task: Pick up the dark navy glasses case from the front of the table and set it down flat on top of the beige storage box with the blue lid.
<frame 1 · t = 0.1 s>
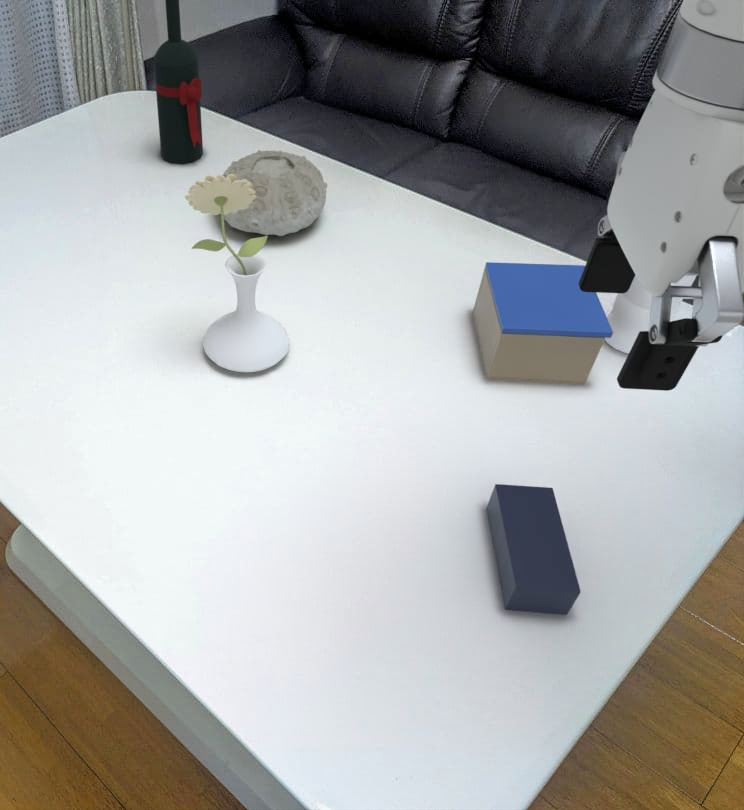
hand: (621, 334, 48), 33 cm above the table, tool pointing down, fingers open, 9 cm apart
case: (523, 560, 73), on the table
wine bottle: (185, 159, 138), on the table
flower in vase: (240, 351, 98), on the table
container: (524, 348, 96), on the table
water bottle: (628, 341, 96), on the table
container lid: (545, 297, 90), point 8 cm above the table, hinge at 0.0°
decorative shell: (269, 221, 121), on the table
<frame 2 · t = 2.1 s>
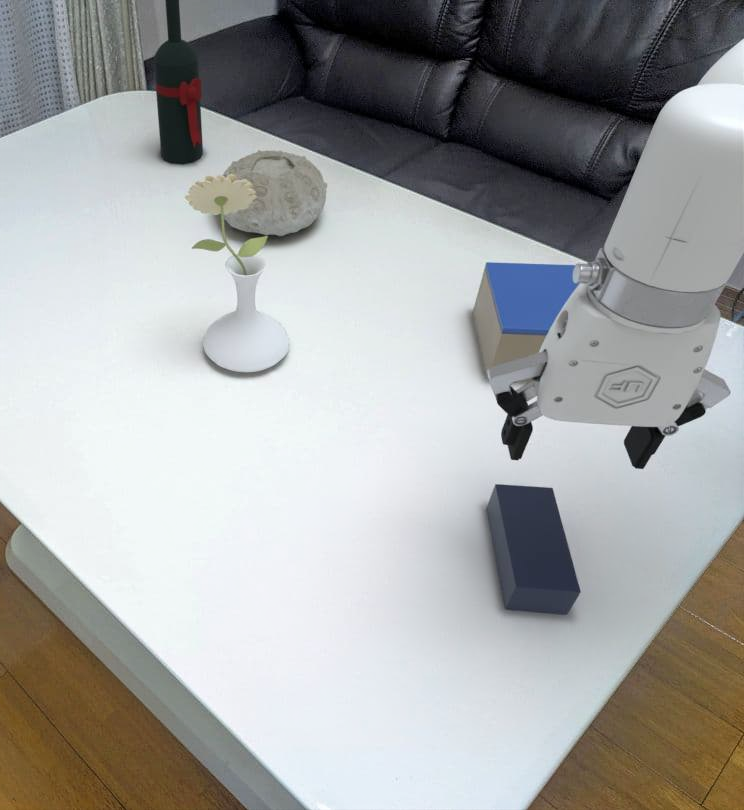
hand: (571, 451, 61), 17 cm above the table, tool pointing down, fingers open, 9 cm apart
nothing on the table moved.
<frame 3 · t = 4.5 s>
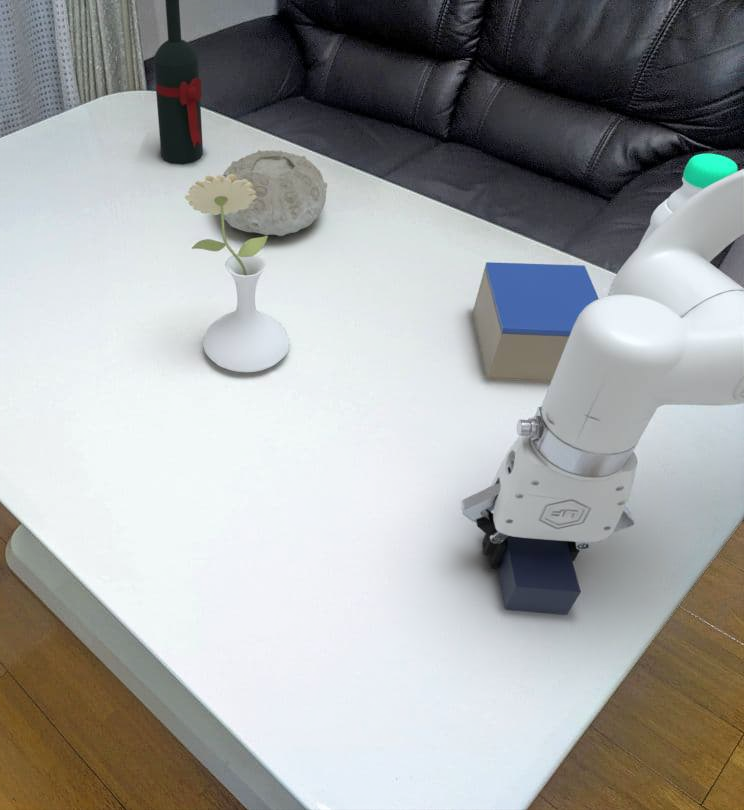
hand: (524, 557, 73), 1 cm above the table, tool pointing down, fingers closed on case, 5 cm apart
case: (523, 560, 73), on the table, touching gripper
everything else where it was.
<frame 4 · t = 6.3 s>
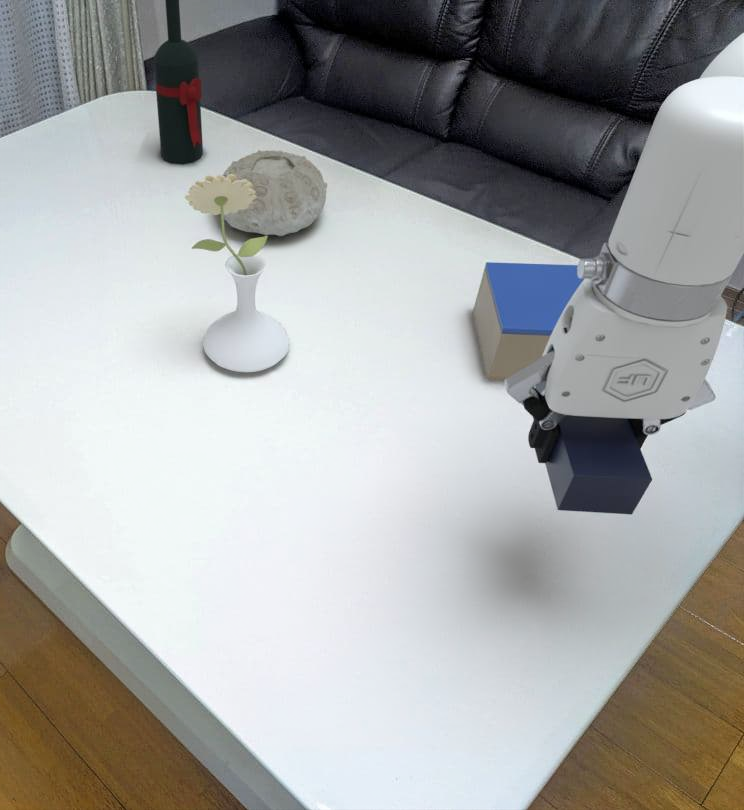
hand: (578, 451, 62), 16 cm above the table, tool pointing down, fingers closed on case, 5 cm apart
case: (576, 455, 62), point 16 cm above the table, touching gripper
everything else where it was.
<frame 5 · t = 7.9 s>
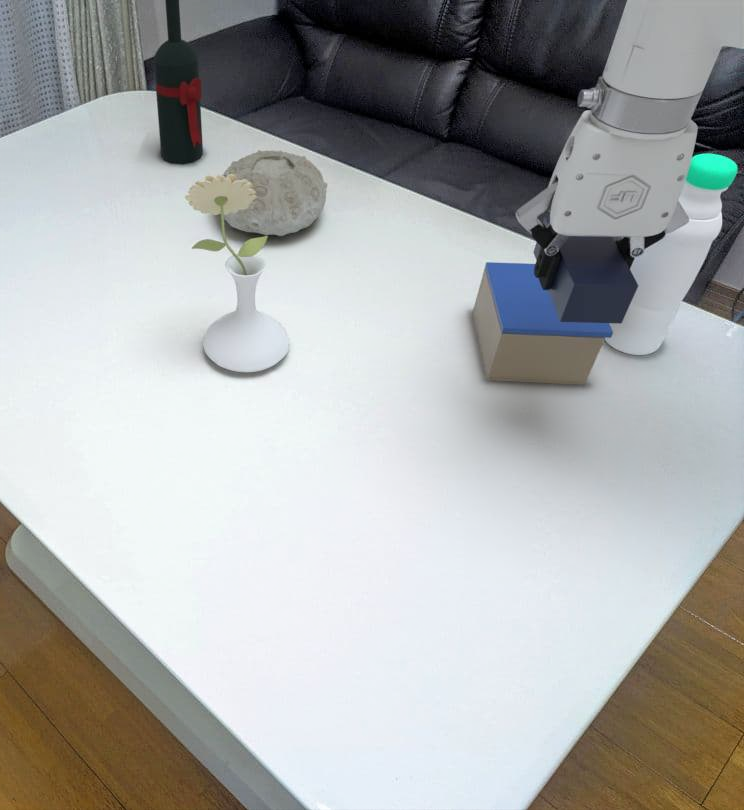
hand: (576, 281, 74), 19 cm above the table, tool pointing down, fingers closed on case, 5 cm apart
case: (574, 285, 74), point 19 cm above the table, touching gripper
everything else where it was.
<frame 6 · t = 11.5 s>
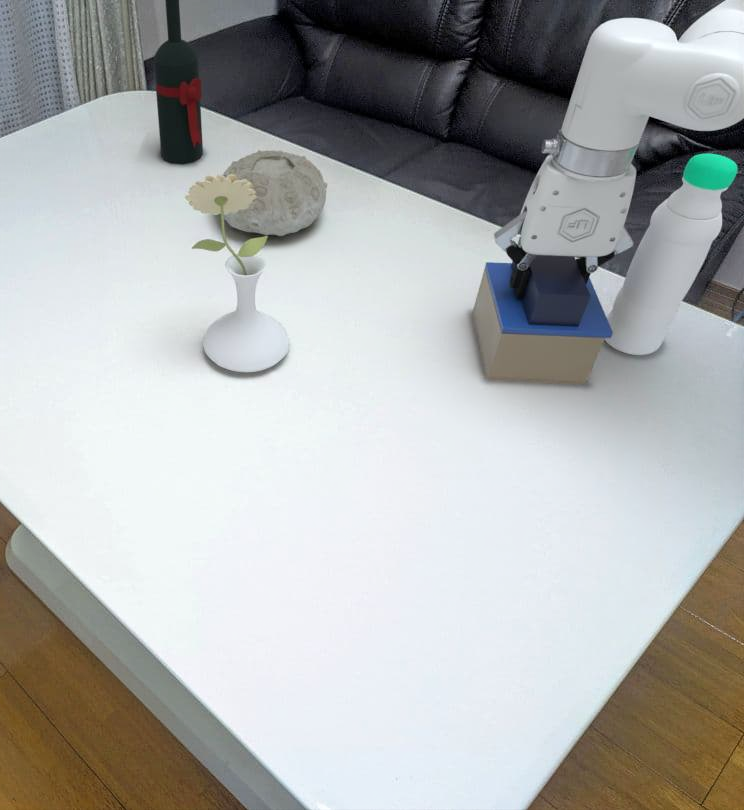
hand: (544, 291, 89), 9 cm above the table, tool pointing down, fingers closed on case, 5 cm apart
case: (542, 295, 90), point 9 cm above the table, touching container lid, gripper
container lid: (545, 297, 90), point 8 cm above the table, hinge at -0.3°, touching case, container
everything else where it was.
when the fingers open (9 cm above the table, at t = 11.8 s): case stays where it is, resting on container lid.
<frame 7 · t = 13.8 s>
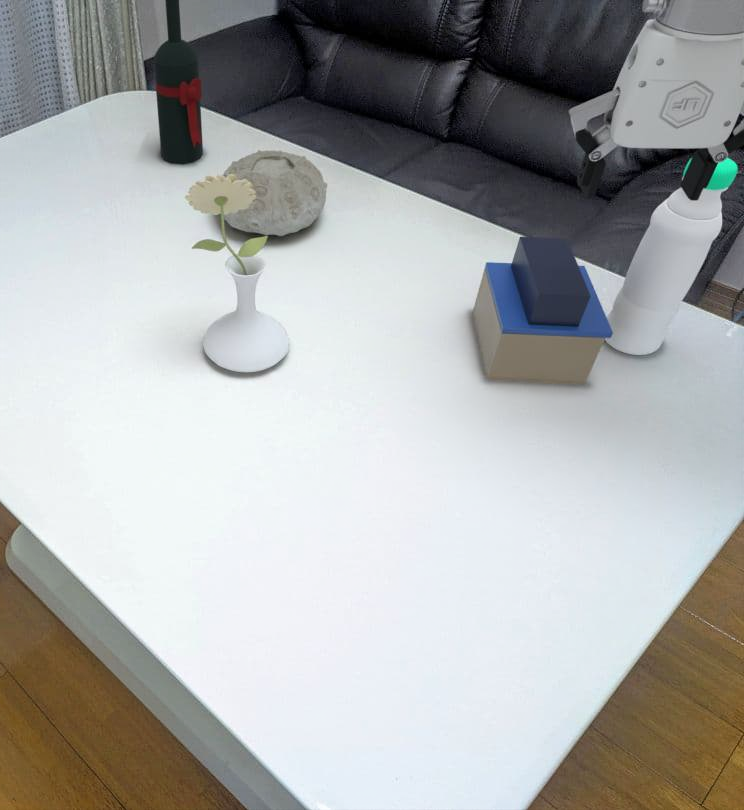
hand: (636, 193, 74), 25 cm above the table, tool pointing down, fingers open, 9 cm apart
case: (542, 295, 90), point 9 cm above the table, touching container lid
everything else where it was.
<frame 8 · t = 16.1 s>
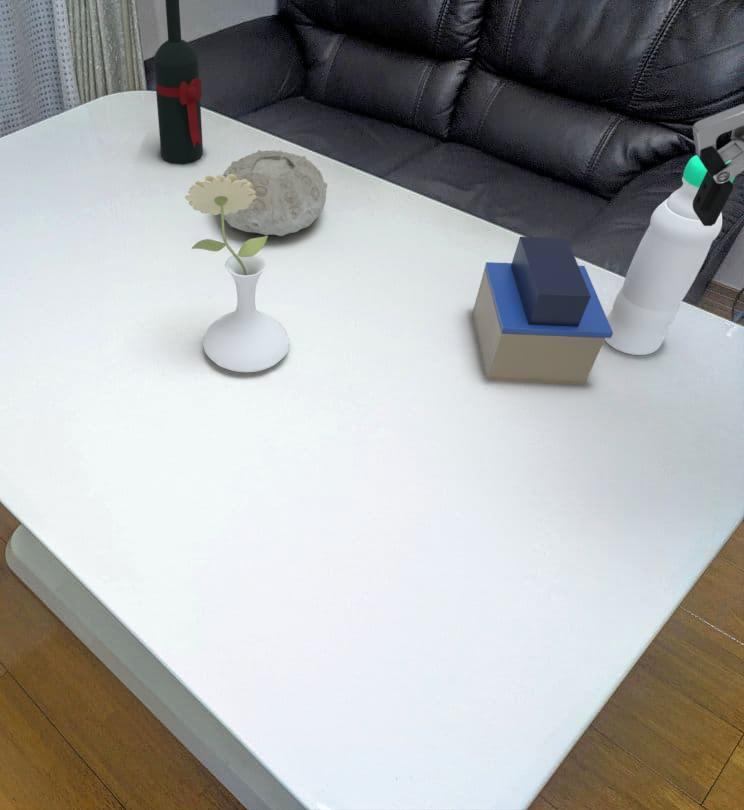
nothing on the table moved.
at the end: case 0.1 cm off-centre on the container, point 8.6 cm above the container's base; case tilted 0°; container lid at +0° (first picture: +0°) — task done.
